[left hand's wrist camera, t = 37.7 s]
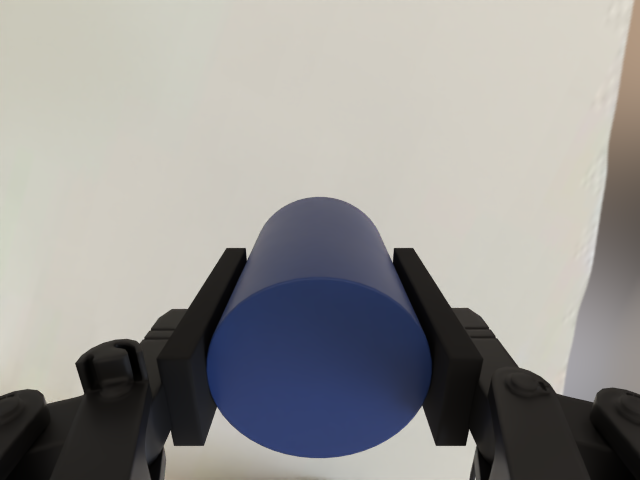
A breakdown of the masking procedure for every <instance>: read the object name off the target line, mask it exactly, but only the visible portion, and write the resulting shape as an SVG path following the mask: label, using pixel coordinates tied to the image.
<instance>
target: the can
mask: <svg viewBox="0 0 640 480" xmlns="http://www.w3.org/2000/svg"><path fill="white" fill-rule="evenodd" d="M206 373H207V380H208V386H209V389H210V393H211V395H212V398H213V400H214V402H215V404H216V406H217V407H218V409H219V410H220V412H221V413H222V415H223V416H224V417H225V418H226V419H227V420H228V422H229V423H230V424H231V425H232V426H233V427H235V428H236V429H237V430H238V431H239V432H240V433H242V434H243V435H245V436H246V437H247V438H249V439H250V440H252V441H254V442H256V443H258V444H260V445H262V446H264V447H266V448H269V449H271V450H274V451H277V452H280V453H284V454H288V455H293V456H298V457H308V458H331V457H340V456H345V455H351V454H354V453H358V452H361V451H365V450H367V449H370V448H372V447H375V446H377V445H379V444H381V443H382V442H384V441H386V440H388V439H389V438H391V437H392V436H394V435H395V434H397V433H398V432H399V431H400V430H402V429H403V428H404V427H405V426H406V425H407V424H408V423H409V422H410V421H411V420H412V419H413V418H414V416H415V415H416V414H417V412H418V411H419V409H420V408H421V406H422V404H423V402H424V400H425V398H426V396H427V393H428V390H429V387H430V383H431V376H432V357H431V352H430V347H429V344H428V341H427V339H426V336H425V334H424V331H423V329H422V327H421V325H420V323H419V320H418V318H417V316H416V314H415V312H414V309H413V307H412V305H411V303H410V300H409V298H408V296H407V294H406V292H405V289H404V287H403V285H402V283H401V280H400V278H399V276H398V274H397V272H396V269H395V267H394V265H393V263H392V261H391V258H390V256H389V254H388V252H387V249H386V247H385V245H384V243H383V241H382V238H381V236H380V234H379V232H378V230H377V228H376V226H375V225H374V224H373V222H372V221H371V220H370V219H369V218H368V217H367V216H366V215H365V214H364V213H363V212H362V211H360V210H359V209H358V208H356V207H354V206H353V205H351V204H349V203H347V202H344V201H342V200H338V199H334V198H327V197H312V198H305V199H301V200H297V201H295V202H292V203H290V204H288V205H286V206H284V207H283V208H281V209H280V210H279V211H277V212H276V213H275V214H274V215H273V216H272V217H271V218H270V219H269V220H268V221H267V222H266V224H265V225H264V227H263V228H262V230H261V232H260V234H259V236H258V238H257V240H256V243H255V245H254V247H253V249H252V251H251V254H250V256H249V258H248V260H247V262H246V264H245V267H244V269H243V271H242V273H241V275H240V277H239V280H238V282H237V284H236V286H235V288H234V290H233V293H232V295H231V297H230V299H229V301H228V304H227V306H226V308H225V310H224V312H223V314H222V317H221V319H220V321H219V323H218V325H217V327H216V330H215V332H214V334H213V336H212V339H211V342H210V344H209V347H208V353H207V358H206Z"/></svg>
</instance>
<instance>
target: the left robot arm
mask: <svg viewBox="0 0 640 480" xmlns="http://www.w3.org/2000/svg"><path fill="white" fill-rule="evenodd" d="M246 262H247V258H246V248H226V250H225V252H224V253H223V255H222V256H221V258H220V259H219V261H218V263H217V264H216V266H215V267H214V269H213V270H212V272H211V274H210V275H209V277H208V278H207V280H206V281H205V283H204V285H203V286H202V288H201V289H200V291H199V292H198V294H197V296H196V297H195V299H194V300H193V302H192V303H191V305H190V307H189V308H188V309H171V310H170V311H168V312H167V313H166V314H164V315H163V316H161V317H160V318H159V319H158V320H157V321H156V323H155V324H154V325H153V327H152V328H151V331H149V332H148V333H147V335H146V336H145V337H144V338H145V339H144V340H142V341H141V343H140V344H139V343H138V342H137V341H134V340H130V339H119V340H113V341H109V342H105V343H102V344H100V345H98V346H96V347H93V348H91V349H90V350H89V351H87V352H86V353H84V354H83V355H82V356H81V357H80V358H79V359H78V361H77V362H76V363H75V364H76V367H77V371H78V374H79V377H80V380H81V384H82V387H83V390H84V395H82V396H79V397H75V398H71V399H66V400H62V401H58V402H53V403H49V404H46V401H45V398H44V395H43V394H42V393H40V392H39V391H38V390H30V389H26V390H20V391H14V392H11V393H8V394H5V395H3V396H0V480H164V476H165V466H166V456H165V451H164V444H165V441H166V439H167V437H168V435H169V433H170V430H171V434H172V438H173V443H174V446H204V444H205V441H206V438H207V435H208V432H209V429H210V426H211V423H212V420H213V417H214V414H215V411H216V408H217V406H216V404H215V402H214V400H213V398H212V395H211V393H210V389H209V386H208V380H207V373H206V358H207V353H208V347H209V344H210V342H211V339H212V336H213V334H214V332H215V330H216V327H217V325H218V323H219V321H220V319H221V317H222V314H223V312H224V310H225V308H226V306H227V304H228V301H229V299H230V297H231V295H232V293H233V290H234V288H235V286H236V284H237V282H238V280H239V277H240V275H241V273H242V271H243V269H244V267H245V264H246ZM393 265H394V267H395V269H396V272H397V274H398V276H399V278H400V280H401V283H402V285H403V287H404V289H405V292H406V294H407V296H408V298H409V300H410V303H411V305H412V307H413V309H414V312H415V314H416V316H417V318H418V320H419V323H420V325H421V327H422V329H423V331H424V334H425V336H426V339H427V341H428V344H429V347H430V352H431V357H432V376H431V383H430V387H429V390H428V393H427V396H426V398H425V400H424V402H423V404H422V406H423V409H424V412H425V415H426V418H427V421H428V424H429V426H430V429H431V432H432V435H433V438H434V441H435V444H436V446H466V442H467V437H468V432H469V429H470V431H471V434H472V436H473V438H474V440H475V442H476V445H477V446H476V451H475V455H474V460H473V464H472V469H471V473H470V480H475V477H476V480H640V395H639V394H637V393H634V392H631V391H628V390H624V389H618V388H605V389H602V390H600V391H599V392H598V393H597V395H596V397H595V400H594V403H593V402H589V401H585V400H580V399H576V398H571V397H567V396H563V395H560V394H556V392H555V391H554V390H553V388H552V387H551V385H550V384H549V383H548V382H547V381H545V380H544V379H543V378H542V377H540V376H538V375H537V374H535V373H533V372H531V371H528V370H525V369H522V368H519V367H518V366H517V364H516V363H515V362H514V360H513V359H512V358H511V356H510V355H509V354H508V352H507V351H506V350H505V348H504V347H503V346H502V344H501V343H500V342H499V340H498V339H497V338H496V337H495V335H494V334H493V332H492V331H491V330H489V327H488V326H487V324H486V323H485V321H484V320H483V319H482V317H480V316H479V315H477V314H476V313H475V312H473V311H472V310H470V309H469V308H451V307H450V305H449V304H448V302H447V301H446V299H445V298H444V296H443V294H442V293H441V291H440V290H439V288H438V287H437V285H436V283H435V282H434V280H433V279H432V277H431V276H430V274H429V272H428V271H427V269H426V268H425V266H424V265H423V263H422V261H421V260H420V258H419V257H418V255H417V254H416V252H415V250H414V249H413V248H394V255H393Z"/></svg>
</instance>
